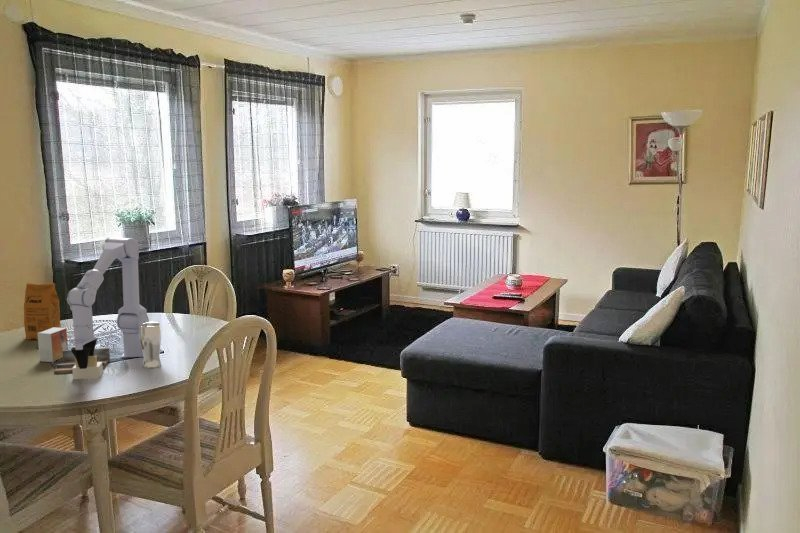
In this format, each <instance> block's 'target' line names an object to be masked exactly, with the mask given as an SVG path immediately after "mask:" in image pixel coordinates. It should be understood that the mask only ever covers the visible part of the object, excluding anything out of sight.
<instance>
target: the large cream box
mask: <svg viewBox="0 0 800 533" xmlns="http://www.w3.org/2000/svg"><path fill="white" fill-rule="evenodd" d="M75 361H76V364H75V365H74V367H73V368H72V371H73V373H72V380H85V379H86V380H87V379H100V378H101V377H102V375H103V374H104V370H103V366H102V362H97V356H88V366H87V368H86V369H80V368H79V366H78V363H77V360H76V358H75Z"/></svg>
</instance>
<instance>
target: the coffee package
mask: <svg viewBox="0 0 800 533" xmlns="http://www.w3.org/2000/svg"><path fill="white" fill-rule="evenodd" d="M24 292H25V294H24V304H23V325H24V326H23V327H24V332H25V333H24V334H25V340H37V341H38V334H37V333H39V332H42V331H45V330H48V329H51V328H53V327H56V328H62V327H61V326H62V325H61V313H60V312H61V311H60V299H59V296H58V292H57V291H56V283H55V282H52V283H51V282H49V283H42V284H38V283H37V284H36V283H32V282H31V283H30V282H27V283H26V287H25V291H24Z"/></svg>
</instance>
